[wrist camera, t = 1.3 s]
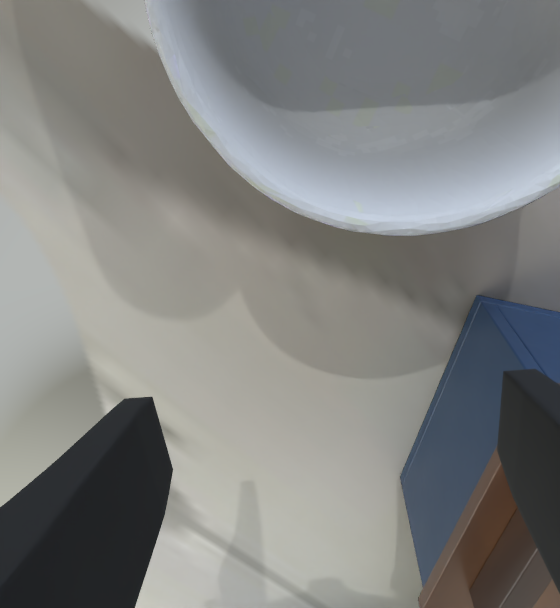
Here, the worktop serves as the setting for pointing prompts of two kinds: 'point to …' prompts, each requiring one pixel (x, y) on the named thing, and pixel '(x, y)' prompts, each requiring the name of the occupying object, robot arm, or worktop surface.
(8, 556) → the robot arm
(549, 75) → the teacup
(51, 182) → the worktop surface
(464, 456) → the tin
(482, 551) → the tin lid
